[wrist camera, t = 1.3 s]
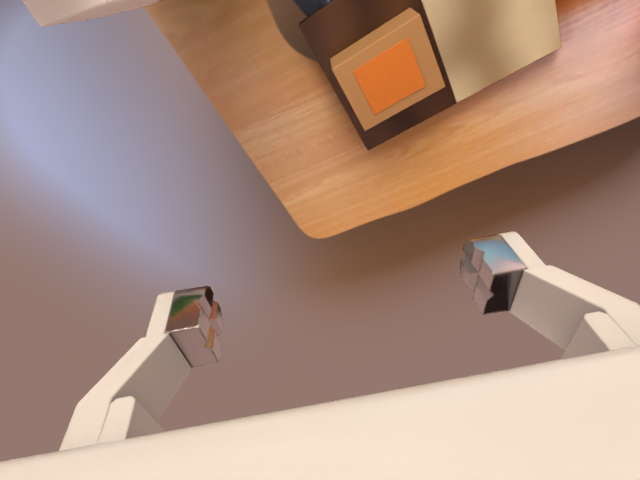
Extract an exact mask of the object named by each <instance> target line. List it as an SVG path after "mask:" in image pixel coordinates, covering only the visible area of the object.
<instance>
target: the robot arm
mask: <svg viewBox="0 0 640 480" xmlns="http://www.w3.org/2000/svg"><path fill="white" fill-rule="evenodd" d="M463 251H464V252H465V254H466V255H465V256H464V257H463V258H462V260H461V264H460V270H461V276H462V279H463V282H464V284H465V285H466V287H467V288H468V289H470V290H472V291H473V292H474V297H473V299H474V301H475V303H476V304H477V306H478V308H479V309H480V311H481V313H482V314H483V315H484V314H490V313H497V312H504V311H510V313H512V314H513V315H515V316H516V317H518V318H519V319H520V320H522V321H523V322H525V323H526V324H528V325H529V326H530V327H532V328H533V329H535V330H536V331H538V332H539V333H541V334H542V335H543V336H545V337H546V338H548V339H549V340H551V341H552V342H554V343H555V344H556V345H558V346H559V347H561V348H562V349H564V352H563V354H562V356H561V358H560V359H559V360H555V361H550V362H545V363H539V364H533V365H528V366H522V367H517V368H511V369H506V370H501V371H495V372H490V373H484V374H479V375H473V376H468V377H462V378H457V379H452V380H446V381H441V382H435V383H430V384H424V385H419V386H413V387H407V388H402V389H397V390H391V391H386V392H380V393H375V394H369V395H364V396H359V397H353V398H348V399H342V400H336V401H331V402H326V403H320V404H315V405H309V406H304V407H298V408H293V409H287V410H282V411H276V412H271V413H265V414H260V415H254V416H249V417H244V418H238V419H232V420H227V421H221V422H216V423H211V424H205V425H199V426H194V427H188V428H183V429H178V430H172V431H167V432H166V431H165V430H164V429H163V427H162V426H161V425H160V424H159V423H158V421H159V420H160V418H161V417H162V415H163V414H164V412H165V410H166V409H167V407H168V406H169V404H170V403H171V401H172V400H173V398H174V397H175V395H176V394H177V392H178V390H179V389H180V387H181V386H182V384H183V383H184V381H185V380H186V378H187V377H188V375H189V374H190V372H191V370H192V368H193V367H197V366H203V365H207V364H212V363H217V362H219V359H220V348H221V343H220V340H219V339H218V336H219V334H220V333H221V332H222V327H223V322H222V321H223V320H222V313H221V310H220V307H219V304H218V303H217V302H215V301H213V292H212V290H211V288H210V287H209V286H204V287H197V288H191V289H184V290H178V291H174V292H167V293H160V294H159V296H158V297H157V299H156V302H155V306H154V309H153V313H152V316H151V320H150V323H149V327H148V330H147V334H146V337H145V338H140V339H139V340H138V341H137V343H136V344H135V345H134V346H133V347H132V348H131V349H130V350H129V351H128V352H127V353H126V354H125V355H124V356H123V357H122V358H121V359H120V360H119V361H118V362H117V363H116V364H115V365H114V367H112V369H110V371H109V372H108V373H107V374H106V375H105V376H104V377H103V378H102V379H101V380H100V381H99V382H98V383H97V384H96V385H95V386H94V387H93V388H92V389H91V391H89V392H88V393H87V394H86V395H85V397H84V398H83V399H82V400H81V401H80V402H79V403H78V404H77V406H76V408H75V411H74V413H73V416H72V419H71V421H70V424H69V426H68V429H67V431H66V434H65V436H64V439H63V442H62V444H61V447H60V449H59V451H57V452H51V453H46V454H40V455H35V456H29V457H24V458H18V459H13V460H7V461H2V462H0V480H640V306H639V305H638V304H637V303H635V302H633V301H630V300H628V299H626V298H624V297H621V296H619V295H617V294H615V293H612V292H610V291H608V290H606V289H603V288H601V287H599V286H597V285H594V284H592V283H590V282H588V281H585V280H583V279H581V278H578V277H576V276H574V275H572V274H570V273H567V272H565V271H563V270H560V269H558V268H556V267H553V266H551V265H550V266H546V265H545V264H544V263H543V262H542V261H541V259H540V258H539V257H538V256H537V255H536V254H535V253H534V251H533V250H532V249H531V248H530V247H529V246H528V245H527V244H526V242H525V241H524V240H523V239H522V238H521V236H520V235H519V234H518V233H516V232H514V231H513V232H507V233H502V234H498V235H492V236H487V237H481V238H475V239H470V240H466V242H465V243H464V247H463Z"/></svg>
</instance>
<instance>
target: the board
mask: <svg viewBox="0 0 640 480" xmlns="http://www.w3.org/2000/svg"><path fill="white" fill-rule="evenodd" d="M408 8H412V9H413V10H414V11H416V12H417V13H419V14H420V16H421V19H422V22H423V24H424V27H425V30H426V33H427V36H428V38H429V41H430V44H431V47H432V50H433V52H434V55H435V58H436V61H437V64H438V67H439V69H440V72H441V75H442V78H443V81H444V83H445V87H444V88H442V89H440V90H438V91H437V92H435V93H433V94H431V95H429V96H428V97H426V98H424V99H422V100H420V101H418V102H417V103H415V104H413V105H411V106H409V107H408V108H406V109H404V110H402V111H400V112H399V113H397V114H395V115H393V116H391V117H390V118H388V119H386V120H384V121H382V122H381V123H379V124H377V125H375V126H373V127H372V128H370V129H368V130H366V131H365V130H364V129H363V127H362V125H361V123H360V121H359V119H358V117H357V116H356V114H355V112H354V110H353V108H352V106H351V104H350V102H349V101H348V99H347V97H346V95H345V93H344V91H343V89H342V88H341V86H340V84H339V82H338V80H337V78H336V76H335V75H334V73H333V71H332V67H331V62H330V59H331V58H332V57H334V56H335V55H337V54H338V53H340V52H341V51H343V50H344V49H346V48H348V47H349V46H351V45H352V44H354V43H355V42H357V41H358V40H360V39H362V38H363V37H365V36H366V35H368V34H369V33H371V32H372V31H374V30H376V29H377V28H379V27H380V26H382V25H383V24H385V23H386V22H388V21H390V20H391V19H393V18H394V17H396V16H397V15H399V14H400V13H402V12H404V11H405V10H407V9H408ZM299 26H300V28H301V30H302V32H303V34H304V35H305V37H306V39H307V41H308V43H309V44H310V46H311V48H312V50H313V52H314V54H315V56H316V57H317V59H318V61H319V63H320V65H321V67H322V68H323V70H324V72H325V74H326V76H327V77H328V79H329V81H330V83H331V85H332V86H333V88H334V90H335V92H336V94H337V96H338V97H339V99H340V101H341V103H342V105H343V106H344V108H345V110H346V112H347V114H348V115H349V117H350V119H351V121H352V123H353V125H354V126H355V128H356V130H357V132H358V134H359V135H360V137H361V139H362V141H363V143H364V144H365V146H366V148H367V150H370V149H372V148H374V147H375V146H377V145H379V144H381V143H383V142H385V141H387V140H388V139H390V138H392V137H394V136H396V135H398V134H400V133H402V132H403V131H405V130H407V129H409V128H411V127H413V126H415V125H417V124H418V123H420V122H422V121H424V120H426V119H428V118H430V117H431V116H433V115H435V114H437V113H439V112H441V111H443V110H445V109H446V108H448V107H450V106H452V105H454V104H456V102H457V103H458V102H460V101H462V100H463V99H465V98H467V97H469V96H471V95H473V94H475V93H477V92H478V91H480V90H482V89H484V88H486V87H488V86H490V85H491V84H493V83H495V82H497V81H499V80H501V79H503V78H505V77H506V76H508V75H510V74H512V73H514V72H516V71H518V70H520V69H521V68H523V67H525V66H527V65H529V64H531V63H533V62H535V61H536V60H538V59H540V58H542V57H544V56H546V55H548V54H549V53H551V52H553V51H555V50H557V49H559V48H561V47H562V45H561V38H560V31H559V24H558V17H557V10H556V3H555V0H331V1H330V2H328V3H327V4H326V5H324V6H323V7H321V8H320V9H318V10H317V11H316V12H314V13H313V14H311V15H310V16H308V17H307V18H306V19H304V20H303V21H301V22H300V23H299Z"/></svg>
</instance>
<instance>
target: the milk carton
mask: <svg viewBox="0 0 640 480" xmlns="http://www.w3.org/2000/svg"><path fill="white" fill-rule="evenodd" d="M159 1H162V0H23V2H24V3H25V5H26V6H27V8H28V9H29V11H30V13H31V14H32V16H33V17H34V19H35V20H36V21H37V23H38V24H39V25H40V26H42V27H45V26H50V25H55V24H61V23H68V22H75V21H81V20H88V19H94V18H99V17H104V16H108V15H112V14H116V13H121V12H125V11H128V10H132V9H136V8H139V7H143V6H146V5H150V4H153V3H156V2H159Z"/></svg>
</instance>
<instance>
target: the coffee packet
mask: <svg viewBox="0 0 640 480" xmlns="http://www.w3.org/2000/svg"><path fill="white" fill-rule="evenodd" d="M330 62H331V67H332V71H333V73H334V75H335V76H336V78H337V80H338V82H339V84H340V86H341V88H342V89H343V91H344V93H345V95H346V97H347V99H348V101H349V102H350V104H351V106H352V108H353V110H354V112H355V114H356V116H357V117H358V119H359V121H360V123H361V125H362V127H363V129H364V130H365V131H366V130H368V129H370V128H372V127H373V126H375V125H377V124H379V123H381V122H382V121H384V120H386V119H388V118H390V117H391V116H393V115H395V114H397V113H399V112H400V111H402V110H404V109H406V108H408V107H409V106H411V105H413V104H415V103H417V102H418V101H420V100H422V99H424V98H426V97H428V96H429V95H431V94H433V93H435V92H437V91H438V90H440V89H442V88H444V87H445V83H444V81H443V78H442V75H441V72H440V69H439V67H438V64H437V61H436V58H435V55H434V52H433V50H432V47H431V44H430V41H429V38H428V36H427V33H426V30H425V27H424V24H423V22H422V19H421V16H420V14H419V13H417V12H416V11H414V10H413V9H412V8H408V9H407V10H405V11H404V12H402V13H400V14H399V15H397V16H396V17H394V18H393V19H391V20H390V21H388V22H386V23H385V24H383V25H382V26H380V27H379V28H377V29H376V30H374V31H372V32H371V33H369V34H368V35H366V36H365V37H363V38H362V39H360V40H358V41H357V42H355V43H354V44H352V45H351V46H349V47H348V48H346V49H344V50H343V51H341V52H340V53H338V54H337V55H335V56H334V57H332V58H331V59H330Z"/></svg>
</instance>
